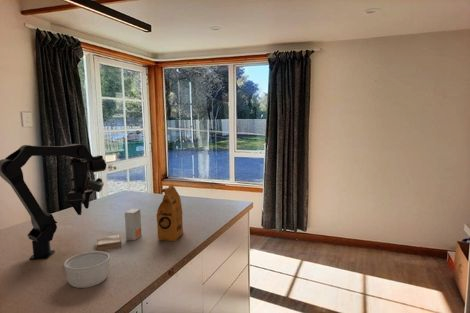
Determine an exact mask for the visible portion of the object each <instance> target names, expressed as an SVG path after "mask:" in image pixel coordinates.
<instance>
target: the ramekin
mask: <svg viewBox="0 0 470 313" xmlns="http://www.w3.org/2000/svg"><path fill="white" fill-rule="evenodd" d="M110 257H111V256H110V253H108V252H106V251H97V250H93V251H91V250H90V251H86V252H81V253H77V254H75V255H73V256H71V257H69V258H67V259H66V260H65V262H64V263H63V266H64V267H63V268H64V270H65V274H66V278H67V281H68V284H69V285H71V287H74V288H76V289H77V288H78V289H87V288H90V287H94V286H97V285H99V284H101V283H103V282H104V281H105V280H106V279H107V278H108V275H109V268H110V261H111V258H110Z"/></svg>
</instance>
